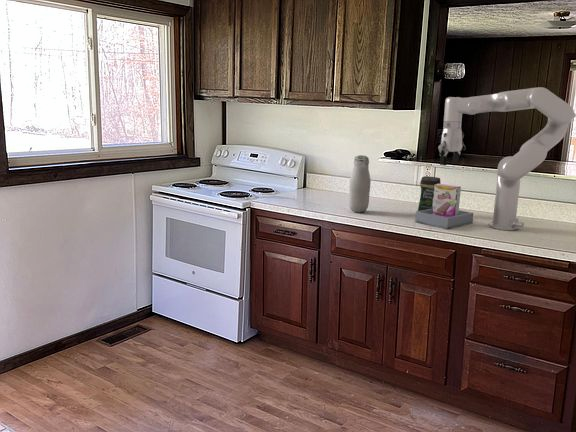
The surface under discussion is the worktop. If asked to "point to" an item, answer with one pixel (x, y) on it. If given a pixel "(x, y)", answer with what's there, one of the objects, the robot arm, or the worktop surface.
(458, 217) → the tray
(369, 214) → the worktop surface
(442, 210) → the candy bar box
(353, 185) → the grey bottle
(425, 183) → the coffee jar
